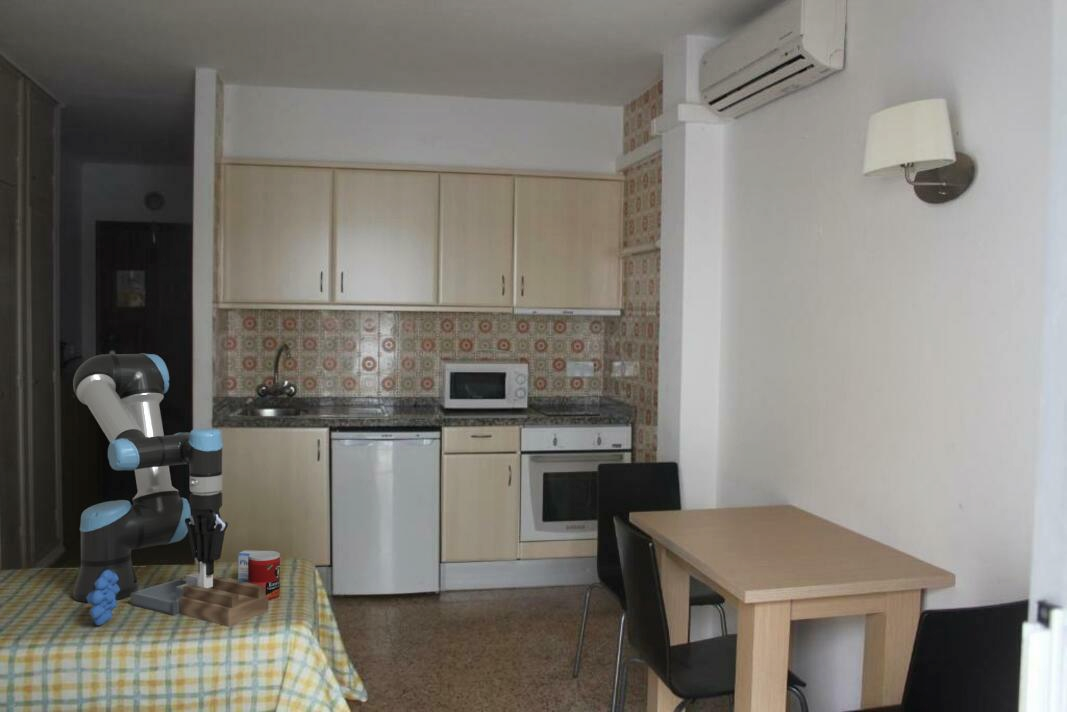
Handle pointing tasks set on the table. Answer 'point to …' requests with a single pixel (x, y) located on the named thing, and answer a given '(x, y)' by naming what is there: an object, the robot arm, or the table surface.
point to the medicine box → (243, 565)
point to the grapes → (103, 597)
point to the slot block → (224, 601)
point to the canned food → (265, 571)
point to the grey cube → (193, 579)
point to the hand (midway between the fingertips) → (206, 587)
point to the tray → (159, 597)
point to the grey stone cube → (179, 591)
